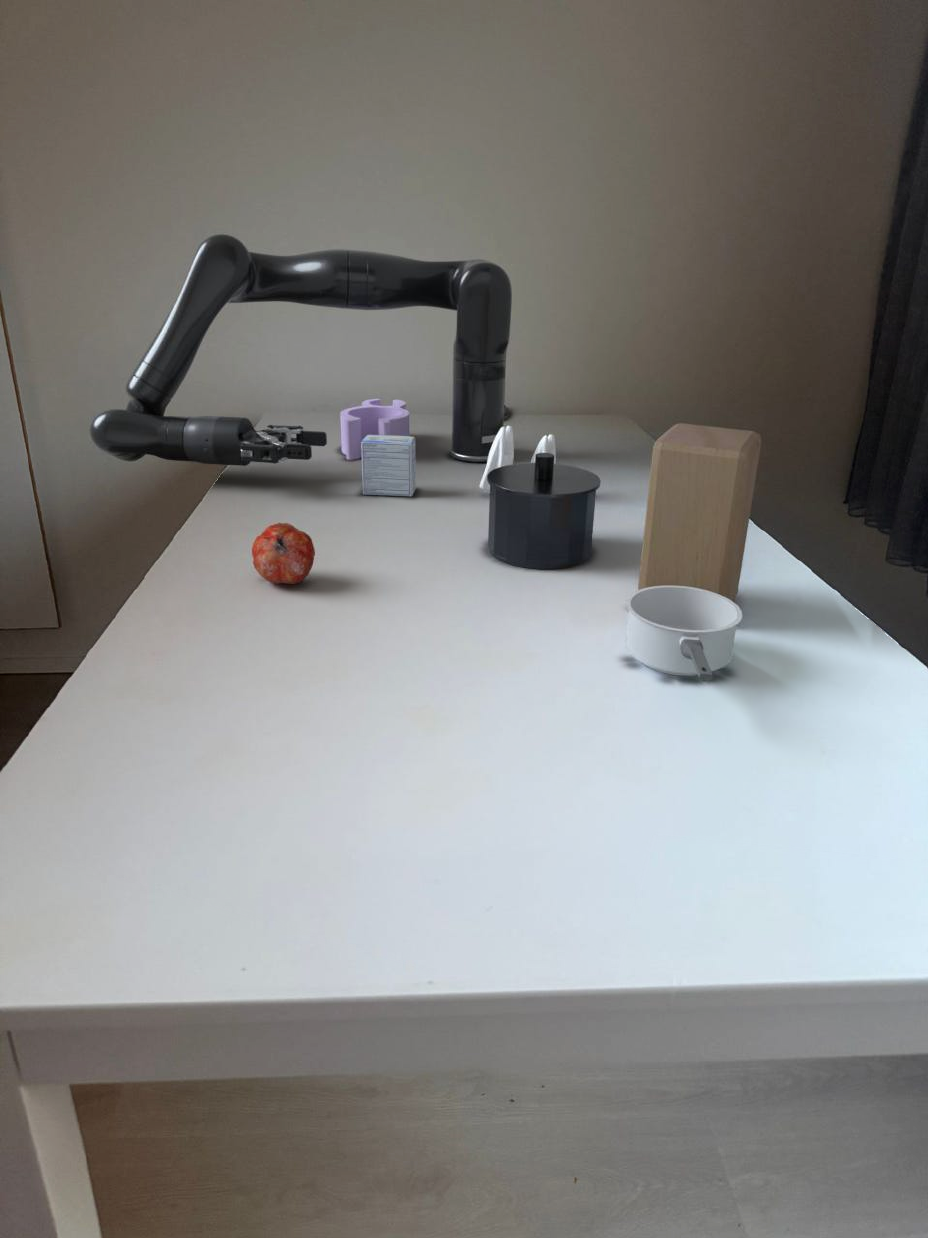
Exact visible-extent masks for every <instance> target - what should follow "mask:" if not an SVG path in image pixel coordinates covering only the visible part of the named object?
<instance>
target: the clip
mask: <svg viewBox="0 0 928 1238" xmlns="http://www.w3.org/2000/svg"><path fill="white" fill-rule="evenodd" d="M339 414H340V415H339V416H340V437H341V438H340V440H341V442H340V443H341V444H340V445H341V452H342V454H344V455H345V456H346V457H345V459H346V460H348V461H353V460H358V459H362V449H361V442H362V441H363V439H364V438H365V437H366V436H367V435H389V436H410V411H408V410H407V403H406V401H404V400H403V399H393V400H392V404H391V405H382V404H381V398H371V399H366V400H363V401H362V402H361V405H359V406H353V407H349V408H344V409H343V410H341V411H340V413H339Z"/></svg>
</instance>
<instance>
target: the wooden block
mask: <svg viewBox="0 0 928 1238" xmlns="http://www.w3.org/2000/svg"><path fill="white" fill-rule="evenodd" d="M761 438H762V437H761V435H760V434H759V433H758V432H756V431H755V430H745V429H736V428H727V427H720V426H710V425H701V424H692V423H685V422H684V423H683V422H680V423H676V424H673V425H672V426H671V427H670V428H669V429H668V430H666V431H665V432H664V433H663V434H662V435H661V436H659V437H658V438H657V439H656V440H655V442H654V444H653V446H652V455H651V464H650V473H649V474H650V475H649V481H648V483H649V484H648V493H647V500H646V501H647V502H646V511H645V520H644V521H645V522H644V528H643V539H642V545H641V555H640V556H641V557H640V565H639V575H638V582H637V583H638V585H637V591H638V590H640V589H644V588H648V587H654V586H686V587H693V588H699V589H703V590H707V591H710V592H713V593H717V594H719V595H721V596H724V597H726V598H728V599H729V600H731V601H733V602H734V601H735V599H736V597H737V595H738V592H739V587H740V580H741V573H742V566H743V561H744V555H745V549H746V542H747V535H748V529H749V524H750V518H751V517H750V516H751V511H752V504H753V498H754V492H755V485H756V479H757V473H758V468H759V467H758V466H759V460H760V454H761V448H762V439H761Z"/></svg>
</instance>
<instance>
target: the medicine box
mask: <svg viewBox="0 0 928 1238" xmlns="http://www.w3.org/2000/svg"><path fill="white" fill-rule="evenodd" d="M361 449H362V457H361V474H362V477H361V479H362V494H363V496H364V495H369V496H390V497H391V496H392V497H394V496H395V497H413V495H414V493H415V491H416V489H417V476H416V475H417V472H416V471H417V469H416V466H417V463H416V437H415V436H411V435H409V436H389V435H367V436H366V437H365V438H364V439H363V441H362V442H361Z"/></svg>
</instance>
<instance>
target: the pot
mask: <svg viewBox="0 0 928 1238" xmlns="http://www.w3.org/2000/svg"><path fill="white" fill-rule="evenodd" d="M596 493H597V490H596V491H594V492H592V493H589V494H586V495H582V496H576V497H568V498H535V497H525V496H519V495H514V494H510V493H506V492H503V491H500V490H498V489H495V488H494V487H492V486H491V485H490V494H489V502H488V503H489V505H488V506H489V507H488V533H487V535H488V536H487V548H488V552H489V554H490V555H491V556H492V557H493V558H495V559H496V560H498V561H500V562H502V563H505V564H508V565H511V566H515V567H519V568H526V569H532V570H533V569H534V570H557V569H559V570H560V569H565V568H571V567H575V566H578V565H580V564H583V563H585V562H586V561H587V560H589V558H590V557H591V554H592V546H593V534H594V533H593V532H594V520H595V510H596V508H595V507H596V498H597V496H596V495H597V494H596Z"/></svg>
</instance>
